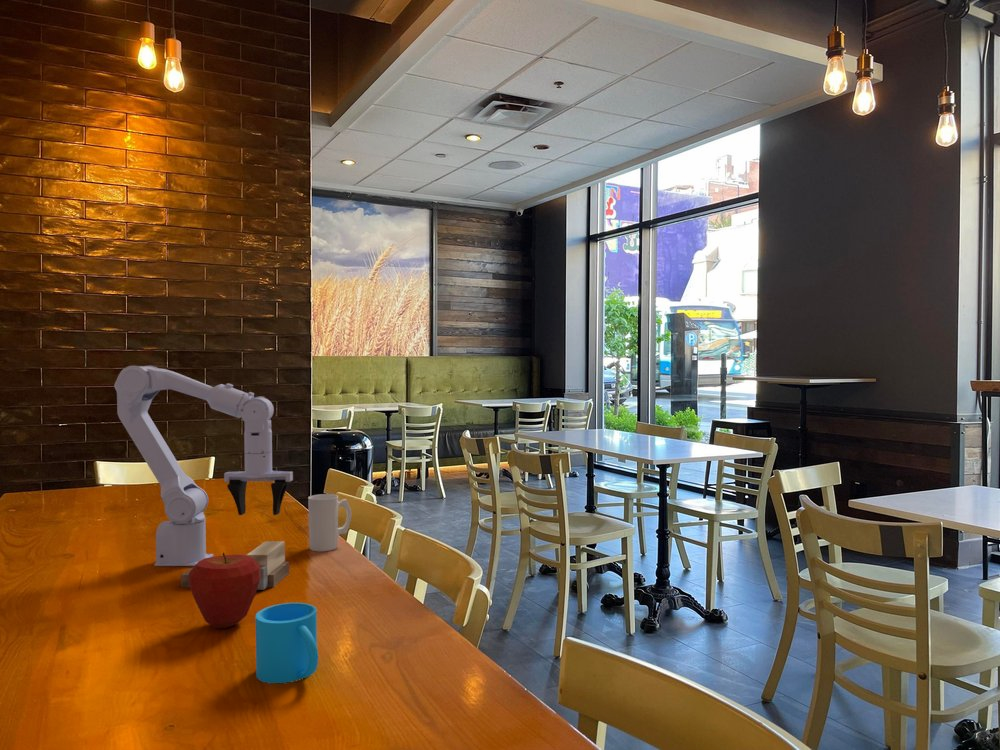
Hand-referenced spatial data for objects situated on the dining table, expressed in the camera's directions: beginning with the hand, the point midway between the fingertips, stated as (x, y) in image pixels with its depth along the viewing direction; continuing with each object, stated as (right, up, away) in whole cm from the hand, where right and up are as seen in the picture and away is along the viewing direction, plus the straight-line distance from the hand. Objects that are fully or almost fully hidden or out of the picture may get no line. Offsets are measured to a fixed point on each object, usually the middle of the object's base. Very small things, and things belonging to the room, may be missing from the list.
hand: (259, 514), depth 154 cm
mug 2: (+13, -10, +10) cm, 19 cm away
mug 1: (+24, -11, -58) cm, 63 cm away
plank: (+1, -10, -15) cm, 18 cm away
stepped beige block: (+7, -10, -16) cm, 20 cm away
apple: (+8, -11, -39) cm, 41 cm away
